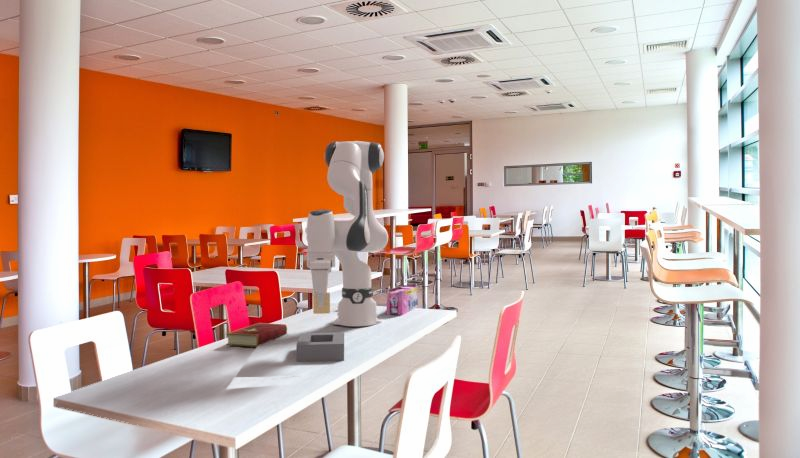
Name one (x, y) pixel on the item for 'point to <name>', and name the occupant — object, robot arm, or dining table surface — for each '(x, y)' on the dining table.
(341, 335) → the well
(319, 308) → the tan block
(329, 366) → the dining table surface
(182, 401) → the dining table surface
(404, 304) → the gum box
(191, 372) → the dining table surface
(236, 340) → the hardcover book
